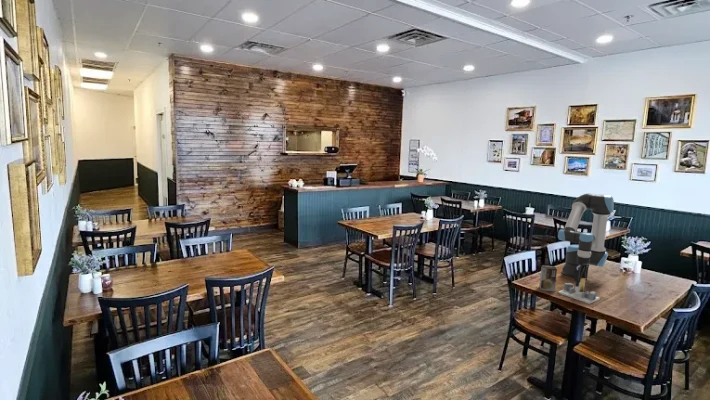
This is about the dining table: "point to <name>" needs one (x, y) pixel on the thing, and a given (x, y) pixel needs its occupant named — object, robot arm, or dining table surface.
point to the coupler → (582, 284)
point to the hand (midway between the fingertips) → (579, 290)
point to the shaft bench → (579, 294)
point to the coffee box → (548, 278)
